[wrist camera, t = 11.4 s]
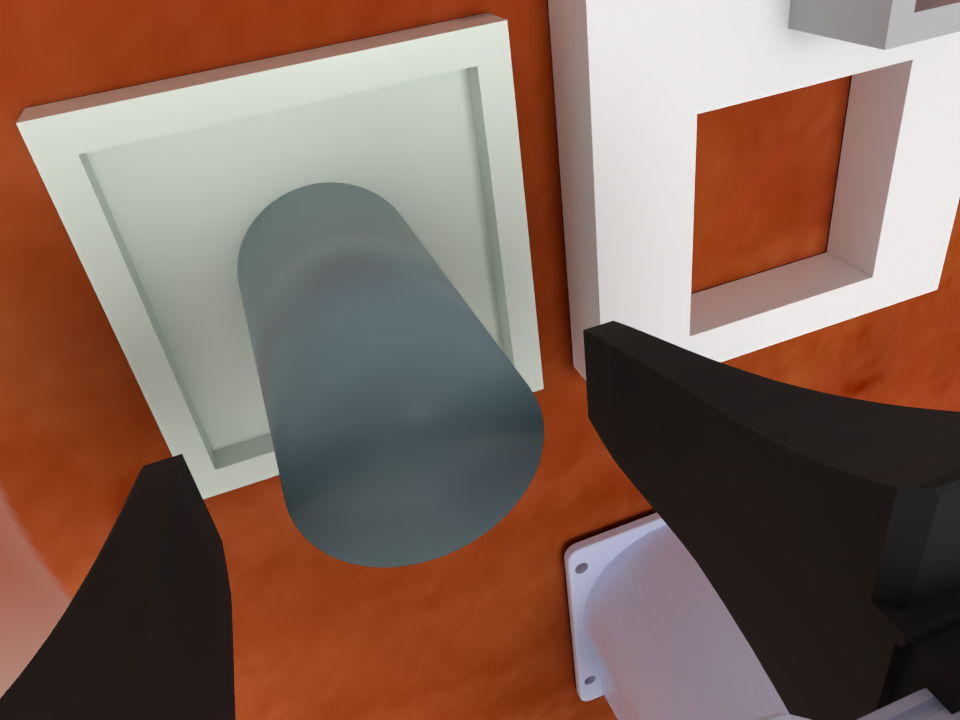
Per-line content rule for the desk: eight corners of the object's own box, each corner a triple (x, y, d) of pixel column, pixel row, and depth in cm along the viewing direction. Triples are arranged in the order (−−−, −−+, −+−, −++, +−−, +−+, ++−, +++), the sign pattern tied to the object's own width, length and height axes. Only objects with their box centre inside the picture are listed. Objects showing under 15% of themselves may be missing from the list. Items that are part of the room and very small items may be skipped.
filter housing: (889, 264, 26) (1021, 332, 22) (573, 366, 24) (658, 464, 20) (1002, -306, 18) (1246, -361, 14) (530, -243, 15) (663, -290, 11)
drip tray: (527, 367, 23) (543, 388, 22) (192, 474, 21) (194, 502, 20) (488, 12, 17) (507, 19, 16) (24, 108, 15) (16, 123, 14)
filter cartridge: (429, 318, 21) (554, 513, 14) (269, 368, 20) (324, 600, 13) (396, 161, 18) (529, 312, 12) (211, 211, 17) (244, 404, 11)
